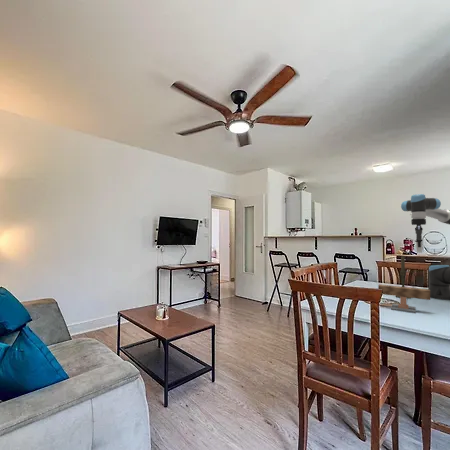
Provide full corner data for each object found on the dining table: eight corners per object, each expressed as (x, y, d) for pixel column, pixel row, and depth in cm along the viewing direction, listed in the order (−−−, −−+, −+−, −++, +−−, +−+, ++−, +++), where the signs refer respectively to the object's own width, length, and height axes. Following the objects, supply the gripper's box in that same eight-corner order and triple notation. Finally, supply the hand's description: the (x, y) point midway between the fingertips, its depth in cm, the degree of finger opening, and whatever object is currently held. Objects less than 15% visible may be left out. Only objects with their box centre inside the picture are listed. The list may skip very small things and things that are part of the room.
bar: (378, 293, 169) (378, 285, 169) (379, 292, 173) (379, 284, 173) (430, 299, 154) (430, 291, 154) (429, 298, 158) (429, 289, 158)
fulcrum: (392, 305, 171) (392, 292, 172) (415, 308, 164) (415, 295, 165) (391, 309, 162) (391, 296, 162) (415, 313, 155) (415, 299, 155)
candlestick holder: (413, 299, 187) (412, 256, 188) (399, 298, 189) (398, 255, 190) (407, 296, 196) (406, 255, 197) (393, 295, 198) (393, 254, 199)
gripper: (411, 219, 184) (412, 250, 183) (411, 218, 163) (411, 253, 163) (425, 219, 179) (425, 250, 179) (426, 217, 159) (427, 253, 159)
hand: (419, 251), depth 171 cm, fingers open, 13 cm apart
